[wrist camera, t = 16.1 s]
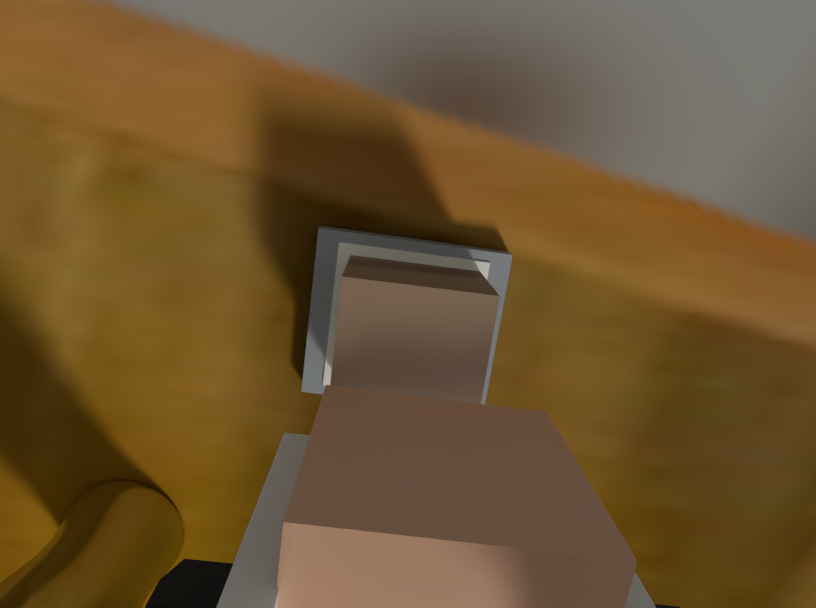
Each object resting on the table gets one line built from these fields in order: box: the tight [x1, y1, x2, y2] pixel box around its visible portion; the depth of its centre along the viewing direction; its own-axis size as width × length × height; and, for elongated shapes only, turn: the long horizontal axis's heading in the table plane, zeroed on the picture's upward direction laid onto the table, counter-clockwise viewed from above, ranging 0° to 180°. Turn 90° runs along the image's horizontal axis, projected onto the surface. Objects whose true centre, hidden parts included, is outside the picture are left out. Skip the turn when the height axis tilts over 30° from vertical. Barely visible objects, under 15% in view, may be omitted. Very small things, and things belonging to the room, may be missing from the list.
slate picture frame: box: [301, 226, 513, 404], centre depth 28 cm, size 9×8×1 cm
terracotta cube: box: [276, 385, 637, 608], centre depth 11 cm, size 5×5×5 cm
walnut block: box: [330, 255, 500, 404], centre depth 25 cm, size 6×6×5 cm
